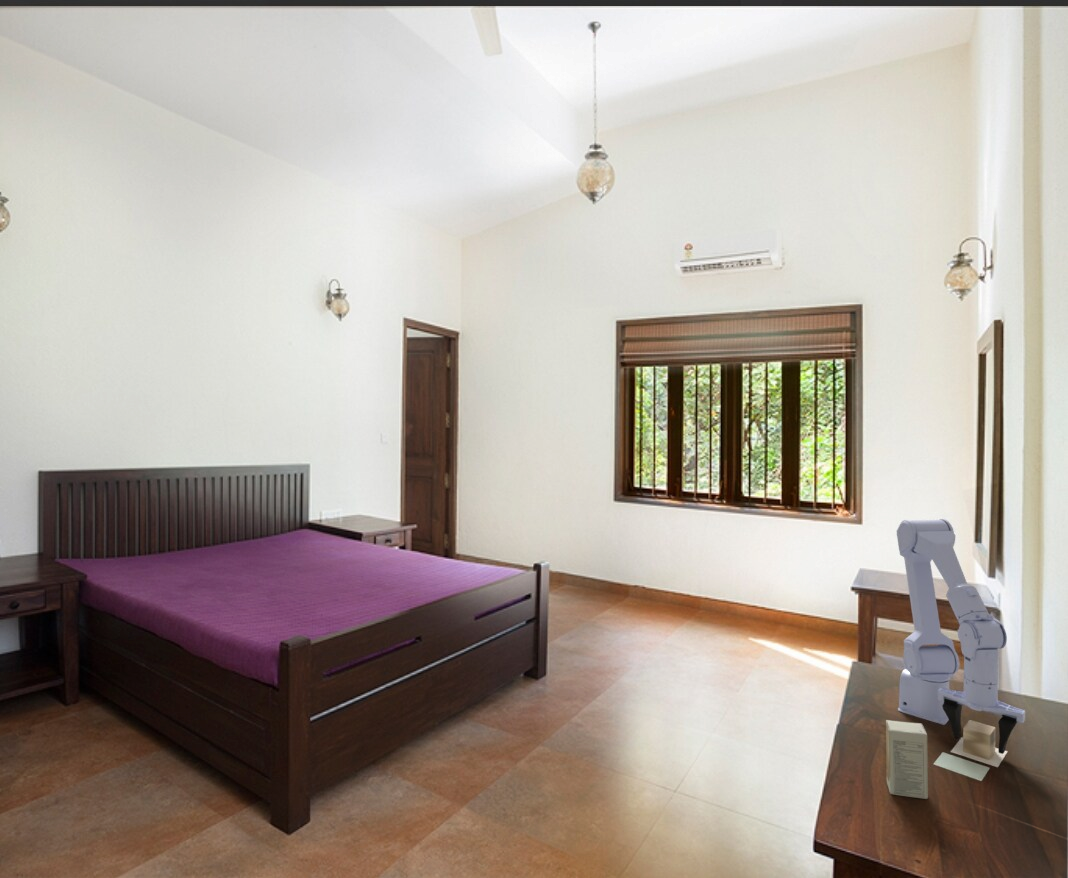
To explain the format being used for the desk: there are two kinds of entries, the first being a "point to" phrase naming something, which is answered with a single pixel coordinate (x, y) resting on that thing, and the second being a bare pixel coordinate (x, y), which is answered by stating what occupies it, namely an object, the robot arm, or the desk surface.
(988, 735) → the maple block
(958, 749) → the tile
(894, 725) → the skincare box
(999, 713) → the robot arm
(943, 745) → the desk surface
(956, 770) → the sage coaster
